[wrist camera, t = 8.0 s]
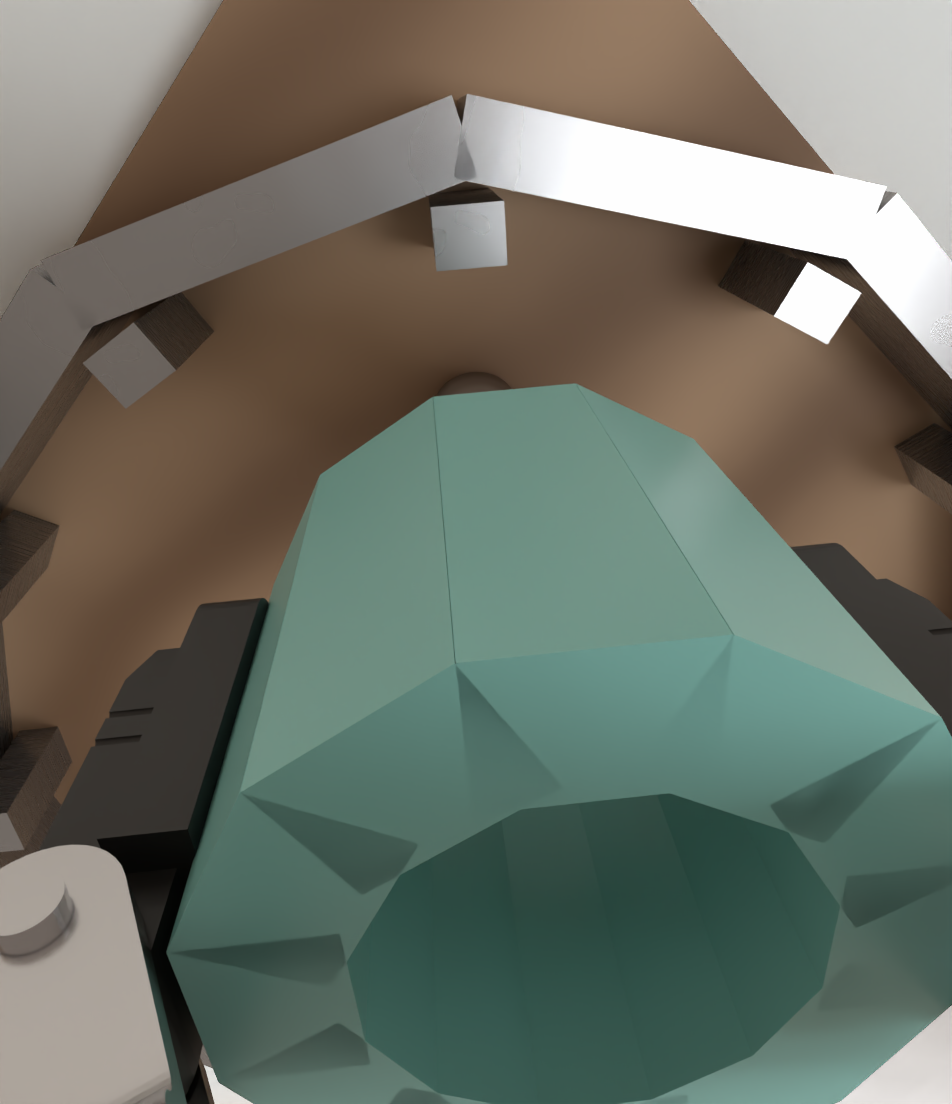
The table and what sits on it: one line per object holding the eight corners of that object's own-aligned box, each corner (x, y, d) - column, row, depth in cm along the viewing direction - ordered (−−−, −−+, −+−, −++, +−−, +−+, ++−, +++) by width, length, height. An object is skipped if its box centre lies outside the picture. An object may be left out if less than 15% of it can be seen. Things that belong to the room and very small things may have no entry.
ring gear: (1198, 629, 22) (1305, 698, 19) (529, 1099, 31) (539, 1191, 28) (422, -285, 12) (422, -395, 10) (-231, 774, 21) (-323, 866, 19)
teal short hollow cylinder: (839, 507, 10) (1174, 810, 6) (600, 829, 12) (705, 1218, 8) (394, 297, 8) (378, 492, 4) (218, 713, 11) (90, 1118, 6)
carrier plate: (1168, 599, 23) (1365, 724, 19) (524, 1065, 32) (544, 1231, 27) (418, -280, 14) (420, -504, 9) (-208, 737, 22) (-380, 905, 18)
